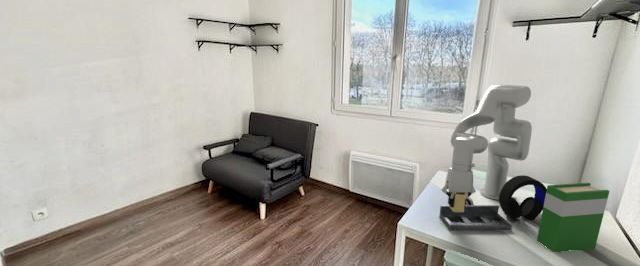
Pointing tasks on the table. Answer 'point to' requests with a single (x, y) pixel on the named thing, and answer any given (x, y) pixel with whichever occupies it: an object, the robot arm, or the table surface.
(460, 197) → the brass peg
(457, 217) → the grey slotted rack
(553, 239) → the hardback book
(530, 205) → the headphones
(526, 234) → the table surface
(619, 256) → the table surface
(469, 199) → the white game console
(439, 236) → the table surface
